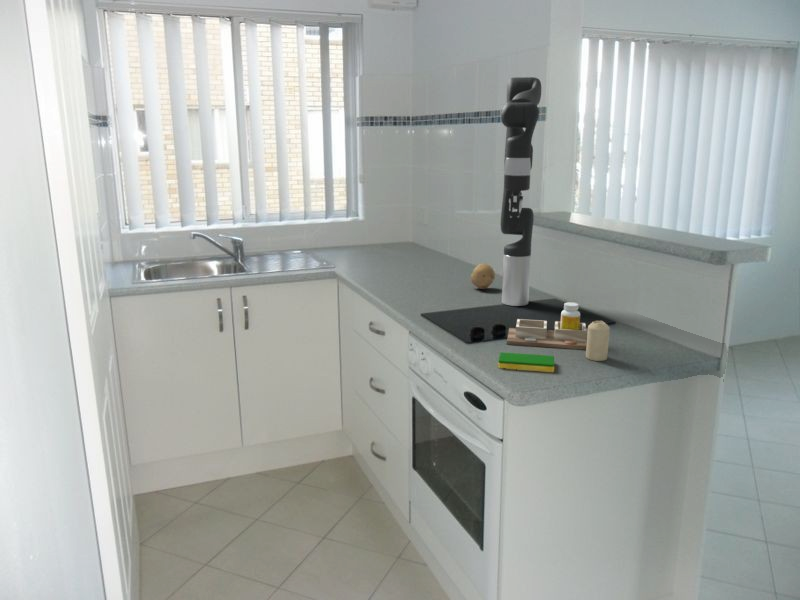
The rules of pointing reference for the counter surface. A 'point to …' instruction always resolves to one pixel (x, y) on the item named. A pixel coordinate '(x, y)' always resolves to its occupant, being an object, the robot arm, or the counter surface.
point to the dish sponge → (526, 362)
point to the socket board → (547, 335)
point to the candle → (597, 341)
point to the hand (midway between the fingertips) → (514, 228)
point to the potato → (482, 276)
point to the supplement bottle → (570, 316)
